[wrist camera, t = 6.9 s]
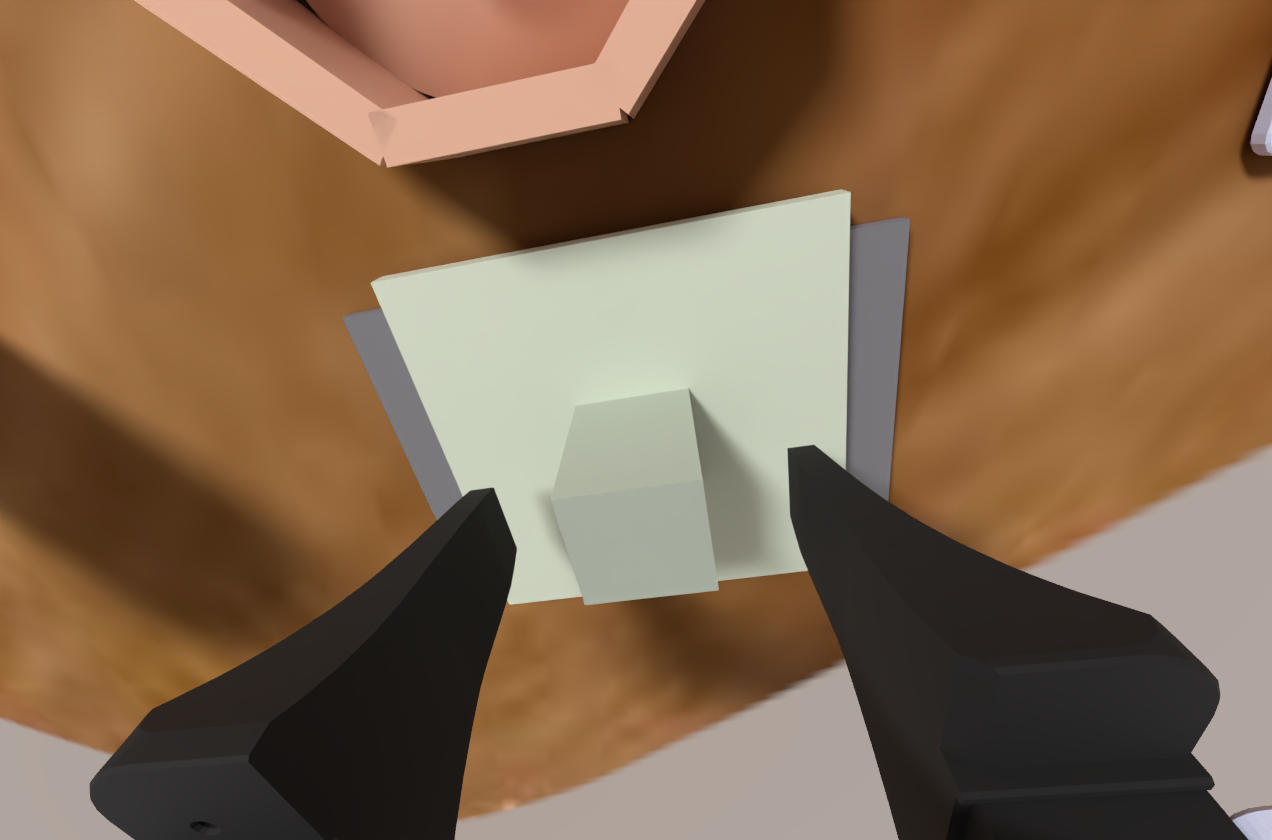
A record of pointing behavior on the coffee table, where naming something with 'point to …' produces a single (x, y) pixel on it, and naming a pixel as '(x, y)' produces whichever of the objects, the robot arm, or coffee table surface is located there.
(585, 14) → the bowl
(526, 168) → the coffee table surface
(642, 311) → the cover
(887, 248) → the mat
